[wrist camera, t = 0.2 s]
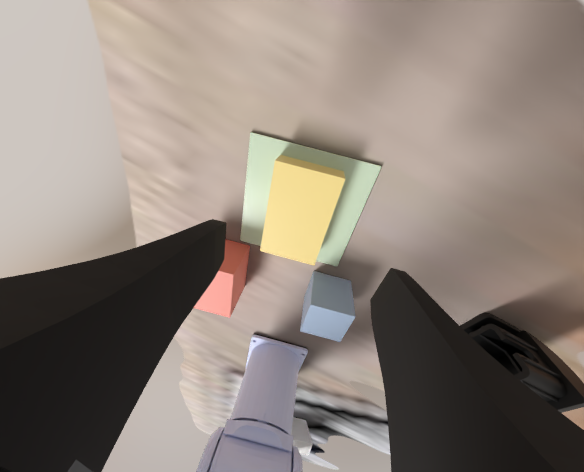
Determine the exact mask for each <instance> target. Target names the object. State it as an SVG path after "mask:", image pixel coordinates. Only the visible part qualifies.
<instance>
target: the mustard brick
mask: <svg viewBox="0 0 584 472" xmlns="http://www.w3.org/2000/svg"><path fill="white" fill-rule="evenodd" d="M344 182H345V174H344V171H341V170H337V169H333V168H330V167H326V166H322V165H318V164H314V163H311V162H307V161H303V160H299V159H295V158H291V157H288V156H284V155H280V156H279V157H278V158H277V159H276V160H275V163H274V169H273V175H272V181H271V187H270V193H269V199H268V205H267V211H266V217H265V223H264V229H263V235H262V241H261V248H260V251H262V252H266V253H270V254H273V255H277V256H281V257H284V258H288V259H292V260H296V261H299V262H303V263H307V264H311V265H315V262H316V259H317V256H318V254H319V251H320V248H321V245H322V243H323V240H324V237H325V234H326V232H327V229H328V226H329V223H330V220H331V218H332V215H333V212H334V209H335V207H336V204H337V201H338V198H339V196H340V193H341V190H342V187H343V184H344Z"/></svg>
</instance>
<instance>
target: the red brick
mask: <svg viewBox="0 0 584 472" xmlns="http://www.w3.org/2000/svg"><path fill="white" fill-rule="evenodd" d="M249 250H250V246H249V245H245V244H242V243H238V242H234V241H230V240H227V239H225V255H224V261H223V263H222V265H221V267H220V269H219V271H218V272H217V274H216V276H215V278H214V280H213V281H212V282H211V284H210V285H209V287H208V288H207V289H206V291H205V292H204V294H203V295H202V296H201V298H200V299H199V301H198V302H197V303H196V305H195V306H194V308H196V309H199V310H203V311H207V312H210V313H214V314H218V315H221V316H225V317H229V318H230V316H231V314H232V312H233V310H234V308H235V306H236V304H237V302H238V299H239V297H240V295H241V293H242V291H243V289H244V287H245V281H246V273H247V265H248V258H249Z"/></svg>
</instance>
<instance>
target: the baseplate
mask: <svg viewBox="0 0 584 472" xmlns="http://www.w3.org/2000/svg"><path fill="white" fill-rule="evenodd" d="M280 155H284V156H288V157H291V158H295V159H299V160H303V161H307V162H311V163H314V164H318V165H322V166H326V167H330V168H333V169H337V170H341V171H344V174H345V182H344V184H343V187H342V190H341V193H340V196H339V198H338V201H337V204H336V207H335V209H334V212H333V215H332V218H331V220H330V223H329V226H328V229H327V232H326V234H325V237H324V240H323V243H322V245H321V248H320V251H319V254H318V256H317V259H316V261H318V262H322V263H325V264H329V265H333V266H336V267H337V266H338V264H339V261H340V259H341V257H342V255H343V252H344V250H345V248H346V246H347V243H348V241H349V239H350V237H351V234H352V232H353V230H354V228H355V225H356V223H357V221H358V219H359V216H360V214H361V212H362V209H363V207H364V205H365V203H366V200H367V198H368V196H369V194H370V191H371V189H372V187H373V185H374V182H375V180H376V178H377V176H378V173H379V171H380V169H381V166H379V165H376V164H372V163H368V162H364V161H360V160H356V159H353V158H349V157H345V156H341V155H337V154H333V153H330V152H326V151H322V150H318V149H314V148H310V147H307V146H303V145H299V144H295V143H291V142H287V141H284V140H280V139H276V138H272V137H268V136H264V135H261V134H257V133H253V132H251V133H250V143H249V154H248V164H247V174H246V185H245V195H244V205H243V216H242V226H241V237H240V241H243V242H247V243H251V244H255V245H258V246H261V241H262V235H263V229H264V223H265V217H266V211H267V205H268V199H269V193H270V187H271V181H272V175H273V169H274V163H275V160H276V159H277V158H278V157H279V156H280Z"/></svg>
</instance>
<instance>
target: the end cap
mask: <svg viewBox="0 0 584 472" xmlns="http://www.w3.org/2000/svg"><path fill="white" fill-rule="evenodd" d="M460 327H461V328H462V329H463V330H464V331H465V332H466V333H467V334H468V335H469V336H470V337H471V338H472V339H474V340H475V341H476V342H477V343H478V344H479V345H480V346H481V347H482V348H483V349H484V350H485V351H486V352H488V353H489V354H490V355H491V356H492V357H493V358H494V359H496V360H497V361H498V362H499V363H500V364H501V365H503V366H504V367H505V368H506V369H507V370H508V371H510V372H511V373H512V374H513V375H514V376H515V377H516V378H518V379H519V380H520V381H521V382H523V383H524V384H525V385H526V386H527V387H529V388H530V389H531V390H532V391H534V392H535V393H536V394H537V395H539V396H540V397H541V398H543V399H544V400H545V401H546V402H548V403H549V404H550V405H551V406H553V407H554V408H555V409H557V410H558V411H559V412H560V413H562V412H566V411H570V410H574V409H577V408H581V407H584V383H583V382H582V381H581V380H580V378H579V377H578V376H577V375H576V374H575V373H574V372H573V371H572V370H571V369H570V368H569V367H568V366H567V365H566V364H565V363H564V362H563V361H562V360H561V359H560V358H559V357H558V356H557V355H556V354H555V353H554V352H553V351H551V350H550V349H549V348H548V347H547V346H546V345H544V344H543V343H542V342H541V341H539V340H538V339H537V338H535V337H534V336H532V335H531V334H529V333H527V332H526V331H520V330H519V329H517V328H516V327H514V326H512V325H510V324H509V323H507V322H505V321H503V320H501V319H499V318H497V317H496V316H494V315H492V314H490V313H482V314H480V315H478V316H476V317H474V318H473V319H471V320H469V321H468V322H466V323H464V324H462V325H461V326H460Z"/></svg>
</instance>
